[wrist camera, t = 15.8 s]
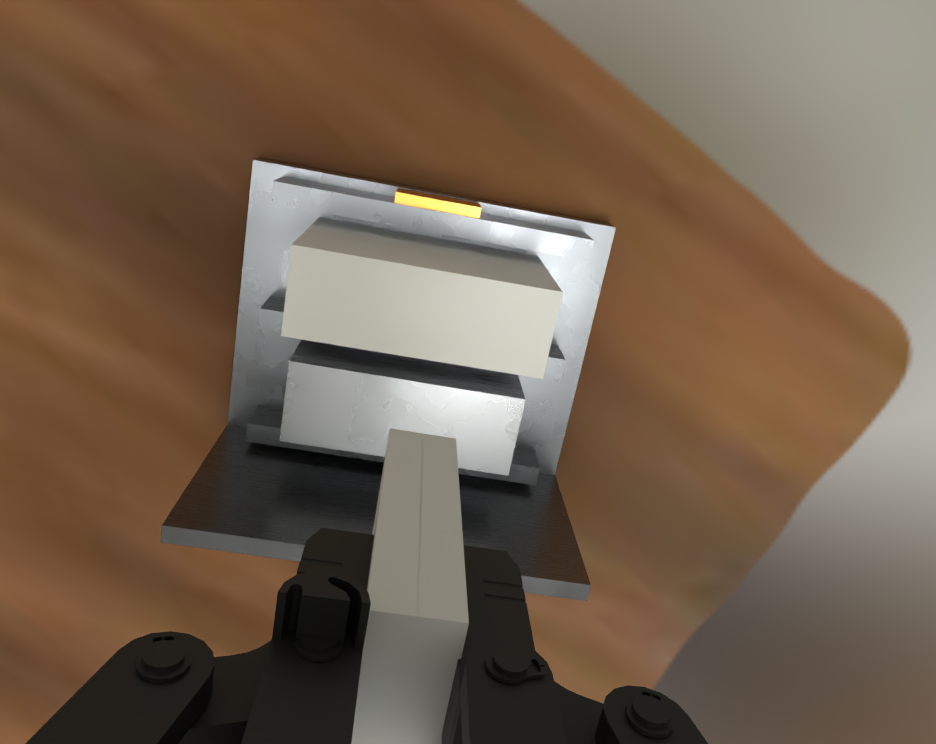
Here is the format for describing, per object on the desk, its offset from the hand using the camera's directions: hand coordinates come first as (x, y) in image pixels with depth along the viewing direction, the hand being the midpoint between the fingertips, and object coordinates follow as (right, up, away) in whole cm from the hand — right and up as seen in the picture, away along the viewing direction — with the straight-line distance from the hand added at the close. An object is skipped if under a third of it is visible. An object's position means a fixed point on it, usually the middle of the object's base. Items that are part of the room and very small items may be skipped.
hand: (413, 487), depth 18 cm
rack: (-2, +5, +24) cm, 25 cm away
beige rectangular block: (-1, +8, +22) cm, 23 cm away
